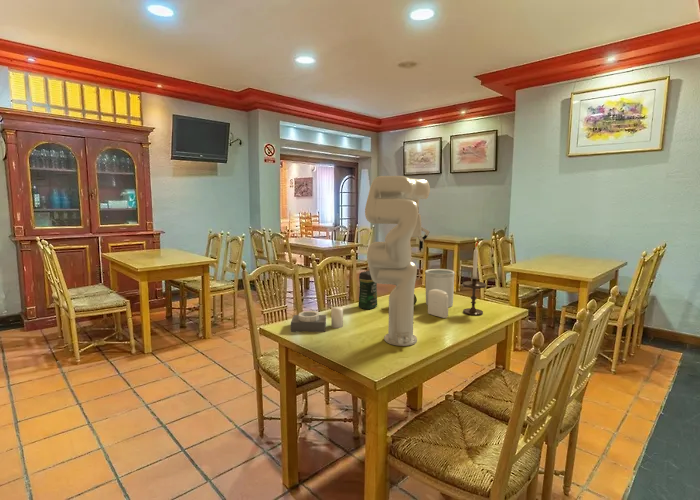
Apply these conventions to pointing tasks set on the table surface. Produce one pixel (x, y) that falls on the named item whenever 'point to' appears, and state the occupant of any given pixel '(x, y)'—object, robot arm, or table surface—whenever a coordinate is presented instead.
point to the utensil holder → (440, 282)
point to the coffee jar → (367, 291)
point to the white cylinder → (337, 317)
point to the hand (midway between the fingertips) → (409, 249)
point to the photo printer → (438, 303)
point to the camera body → (308, 322)
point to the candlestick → (474, 287)
